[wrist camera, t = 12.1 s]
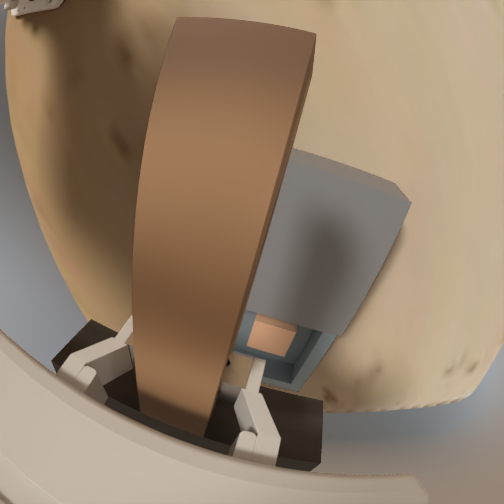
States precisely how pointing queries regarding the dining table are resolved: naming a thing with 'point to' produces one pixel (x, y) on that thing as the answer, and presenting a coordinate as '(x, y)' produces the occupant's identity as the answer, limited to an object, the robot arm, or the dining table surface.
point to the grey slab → (325, 243)
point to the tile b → (271, 335)
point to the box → (287, 354)
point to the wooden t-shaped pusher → (210, 230)
